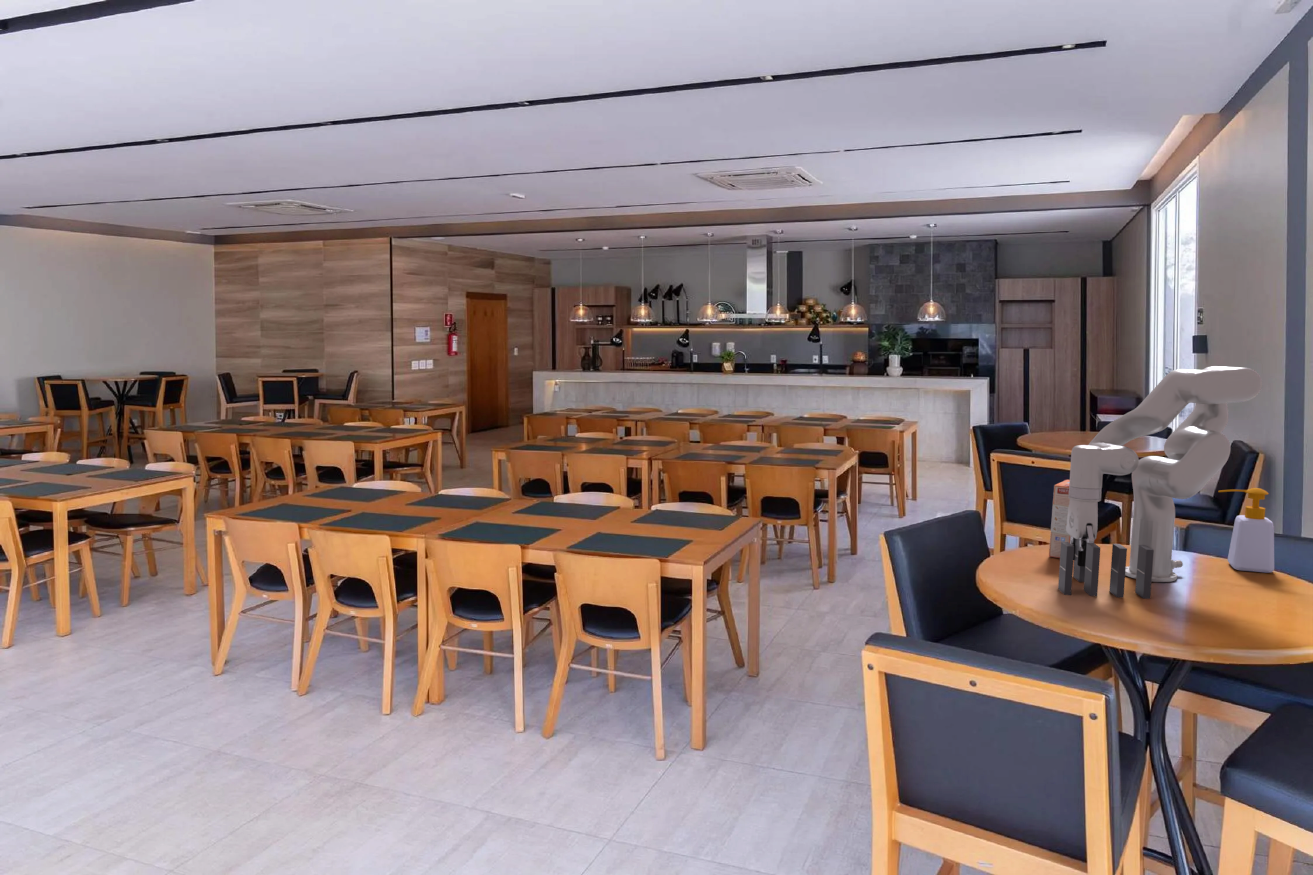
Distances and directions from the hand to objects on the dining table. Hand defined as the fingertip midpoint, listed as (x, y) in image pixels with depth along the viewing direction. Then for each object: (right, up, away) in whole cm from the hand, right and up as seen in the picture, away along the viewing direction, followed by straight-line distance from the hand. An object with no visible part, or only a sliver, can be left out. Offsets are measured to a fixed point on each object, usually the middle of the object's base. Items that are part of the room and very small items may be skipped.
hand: (1080, 562), depth 236 cm
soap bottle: (+50, -4, +14) cm, 53 cm away
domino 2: (0, -4, +1) cm, 4 cm away
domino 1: (-9, -6, -11) cm, 15 cm away
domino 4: (+3, -6, -13) cm, 14 cm away
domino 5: (+9, -6, -14) cm, 17 cm away
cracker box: (+9, -2, +28) cm, 29 cm away
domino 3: (-3, -6, -12) cm, 14 cm away
